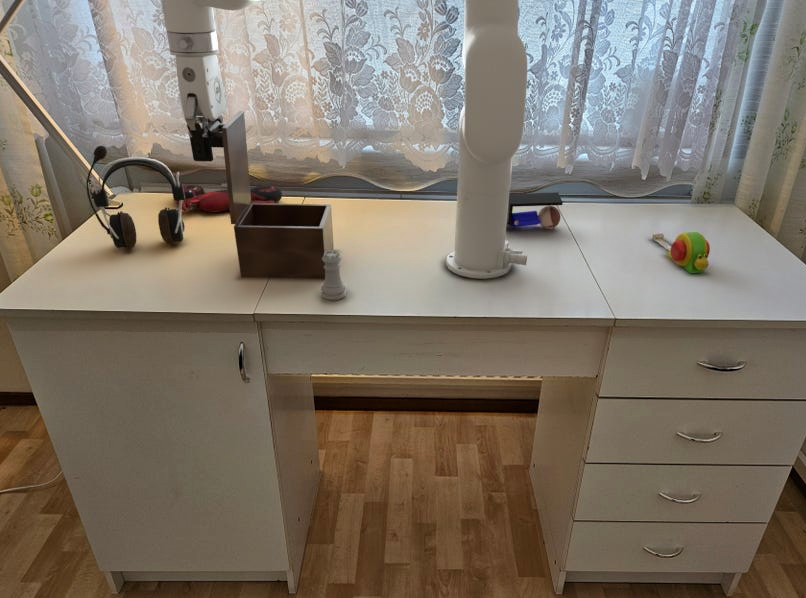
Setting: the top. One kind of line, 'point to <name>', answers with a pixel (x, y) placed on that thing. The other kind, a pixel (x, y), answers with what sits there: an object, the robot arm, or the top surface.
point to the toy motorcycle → (225, 197)
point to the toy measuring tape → (687, 250)
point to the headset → (122, 222)
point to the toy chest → (284, 240)
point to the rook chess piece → (332, 277)
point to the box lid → (234, 162)
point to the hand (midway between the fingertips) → (210, 153)
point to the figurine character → (546, 216)
